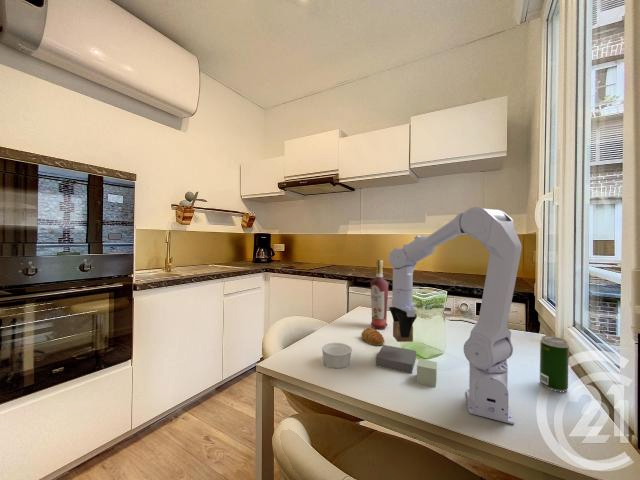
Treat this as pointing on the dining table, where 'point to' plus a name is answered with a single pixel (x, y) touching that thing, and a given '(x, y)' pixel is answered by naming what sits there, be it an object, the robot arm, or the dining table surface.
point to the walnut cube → (398, 336)
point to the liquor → (379, 298)
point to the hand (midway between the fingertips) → (401, 333)
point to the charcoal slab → (396, 358)
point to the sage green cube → (427, 372)
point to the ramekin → (336, 355)
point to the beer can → (554, 363)
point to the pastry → (372, 336)
